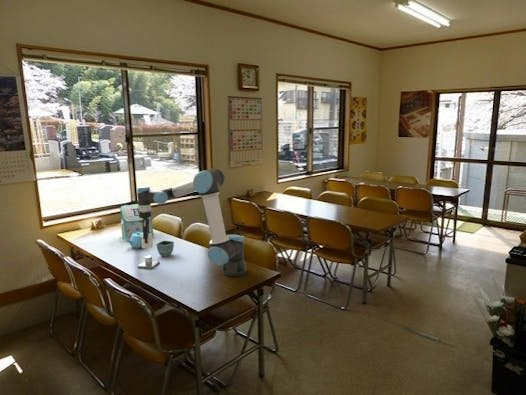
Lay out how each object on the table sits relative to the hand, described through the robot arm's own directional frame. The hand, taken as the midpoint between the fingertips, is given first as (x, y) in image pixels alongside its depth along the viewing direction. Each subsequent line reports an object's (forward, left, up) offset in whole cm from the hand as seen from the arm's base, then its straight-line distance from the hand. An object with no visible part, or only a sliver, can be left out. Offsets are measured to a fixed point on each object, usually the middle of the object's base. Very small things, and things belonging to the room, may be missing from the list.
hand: (147, 246), depth 246 cm
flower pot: (-2, -20, -13) cm, 24 cm away
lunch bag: (+40, -55, -13) cm, 69 cm away
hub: (0, 0, -13) cm, 13 cm away
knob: (0, 0, 0) cm, 0 cm away
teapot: (+26, -33, -13) cm, 44 cm away
